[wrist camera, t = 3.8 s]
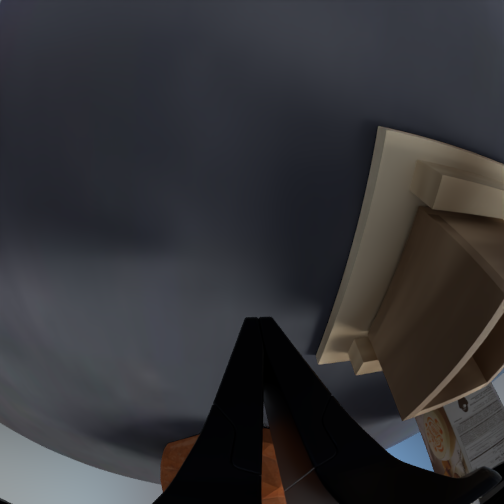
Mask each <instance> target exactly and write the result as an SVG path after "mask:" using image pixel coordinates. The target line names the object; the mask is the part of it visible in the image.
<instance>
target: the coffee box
mask: <svg viewBox="0 0 504 504" xmlns="http://www.w3.org/2000/svg"><path fill="white" fill-rule="evenodd" d="M415 419H416V422H417V424H418V427H419V430H420V432H421V435H422V438H423V440H424V443H425V445H426V449H427V452H428V454H429V457H430V460H431V463H432V467H433V470H434V472H435V473H438V474H442V475H445V476H449V477H454V478H460V477H462V476H464V475H466V474H468V473H470V472H472V471H474V470H476V469H478V468H480V467H482V466H486V467H488V468H490V469H492V468H493V467H495V466H496V465H498V464H499V463H501V462H503V461H504V406H503V404H502V402H501V400H500V398H499V396H498V395H497V392H496V390H495V389H494V387H493V385H492V383H491V382H490V383H489V384H488V385H487V386H485V387H483V388H481V389H479V390H477V391H475V392H473V393H471V394H469V395H467V396H465V397H463V398H461V399H458V400H456V401H454V402H452V403H449V404H447V405H445V406H442V407H440V408H437V409H435V410H432V411H430V412H427V413H424V414H422V415H419V416H416V417H415Z"/></svg>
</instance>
